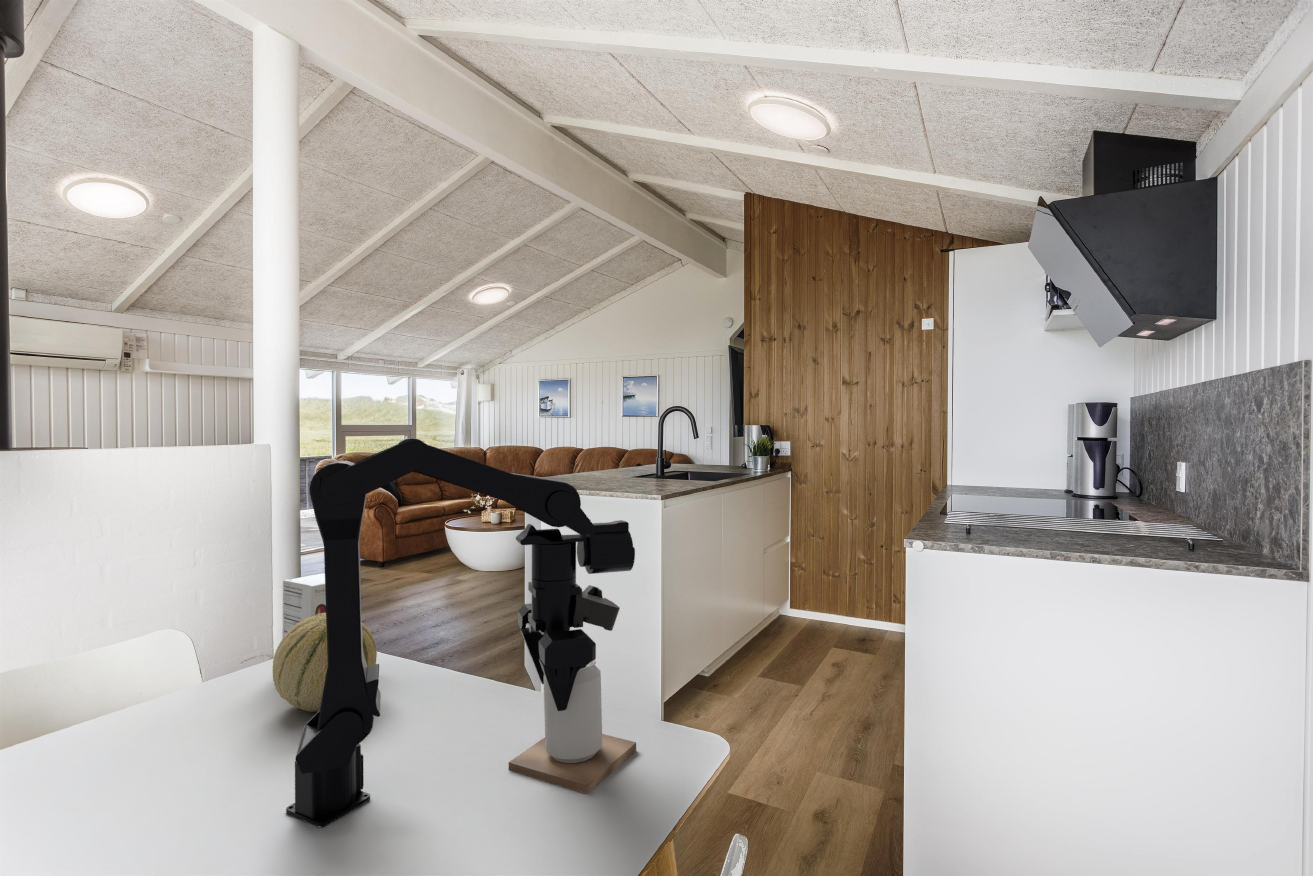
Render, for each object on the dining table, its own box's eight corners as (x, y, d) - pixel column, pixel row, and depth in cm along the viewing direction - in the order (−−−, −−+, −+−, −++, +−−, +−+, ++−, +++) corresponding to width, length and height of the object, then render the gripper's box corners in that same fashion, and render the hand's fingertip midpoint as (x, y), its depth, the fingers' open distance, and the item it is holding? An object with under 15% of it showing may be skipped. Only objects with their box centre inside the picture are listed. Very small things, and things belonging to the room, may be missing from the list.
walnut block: (587, 802, 79) (587, 785, 79) (508, 777, 84) (508, 762, 84) (636, 757, 89) (636, 742, 89) (563, 738, 95) (563, 724, 95)
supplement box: (310, 684, 113) (309, 586, 112) (280, 674, 117) (279, 579, 117) (361, 667, 121) (360, 575, 121) (330, 658, 126) (330, 570, 125)
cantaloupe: (277, 697, 107) (276, 605, 107) (375, 683, 113) (375, 596, 113) (266, 736, 94) (266, 631, 93) (378, 717, 100) (378, 618, 100)
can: (599, 766, 83) (596, 671, 83) (540, 766, 83) (537, 671, 83) (605, 738, 90) (603, 651, 90) (551, 739, 90) (549, 651, 90)
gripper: (636, 587, 80) (636, 715, 80) (593, 559, 97) (592, 664, 97) (545, 595, 76) (545, 730, 76) (517, 564, 93) (516, 674, 93)
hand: (553, 696), depth 86 cm, fingers open, 9 cm apart
